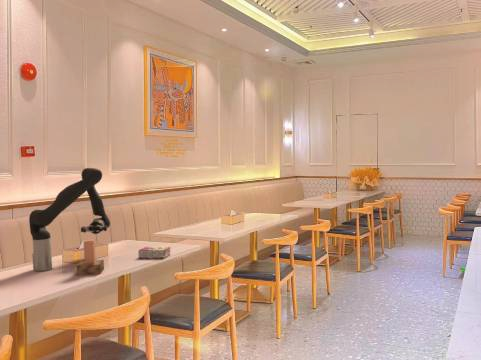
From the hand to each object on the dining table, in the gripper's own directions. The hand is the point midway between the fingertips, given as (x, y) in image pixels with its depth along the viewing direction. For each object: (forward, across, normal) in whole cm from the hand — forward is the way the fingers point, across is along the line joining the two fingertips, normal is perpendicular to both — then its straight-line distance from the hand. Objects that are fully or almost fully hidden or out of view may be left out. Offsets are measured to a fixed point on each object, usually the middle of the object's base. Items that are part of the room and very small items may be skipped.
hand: (92, 230), depth 282 cm
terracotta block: (+15, +1, +15) cm, 22 cm away
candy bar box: (-18, +25, +17) cm, 35 cm away
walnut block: (+15, +1, +20) cm, 25 cm away
